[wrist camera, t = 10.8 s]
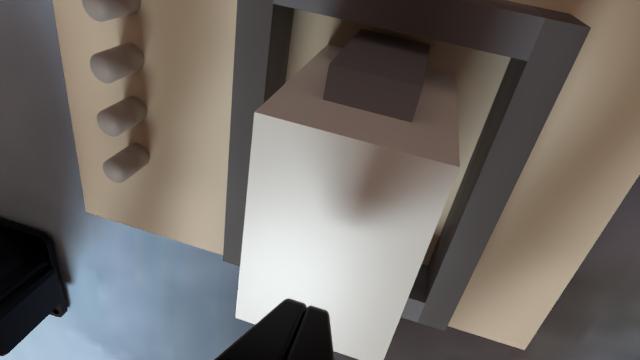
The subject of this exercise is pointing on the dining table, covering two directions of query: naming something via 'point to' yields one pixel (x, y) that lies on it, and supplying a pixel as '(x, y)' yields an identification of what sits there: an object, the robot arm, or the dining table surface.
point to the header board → (444, 55)
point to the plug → (349, 187)
